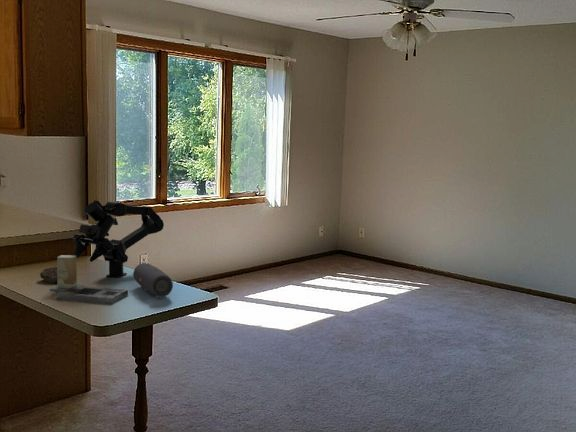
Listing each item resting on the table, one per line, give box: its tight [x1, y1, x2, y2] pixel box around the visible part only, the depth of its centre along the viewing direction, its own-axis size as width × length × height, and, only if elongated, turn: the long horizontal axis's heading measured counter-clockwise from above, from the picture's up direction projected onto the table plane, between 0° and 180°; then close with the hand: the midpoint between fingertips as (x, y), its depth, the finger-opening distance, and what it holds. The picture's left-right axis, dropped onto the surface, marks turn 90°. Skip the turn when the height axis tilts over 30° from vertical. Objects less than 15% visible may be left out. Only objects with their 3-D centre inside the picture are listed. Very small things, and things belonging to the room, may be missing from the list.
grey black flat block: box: [56, 285, 129, 305], centre depth 227 cm, size 12×22×2 cm, turn 77°
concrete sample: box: [39, 266, 57, 284], centre depth 249 cm, size 12×10×5 cm
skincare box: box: [56, 254, 78, 288], centre depth 238 cm, size 6×4×12 cm
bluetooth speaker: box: [132, 262, 174, 298], centre depth 234 cm, size 23×9×10 cm, turn 30°
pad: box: [49, 283, 85, 292], centre depth 238 cm, size 9×9×1 cm
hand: (82, 259), depth 244 cm, fingers open, 9 cm apart
